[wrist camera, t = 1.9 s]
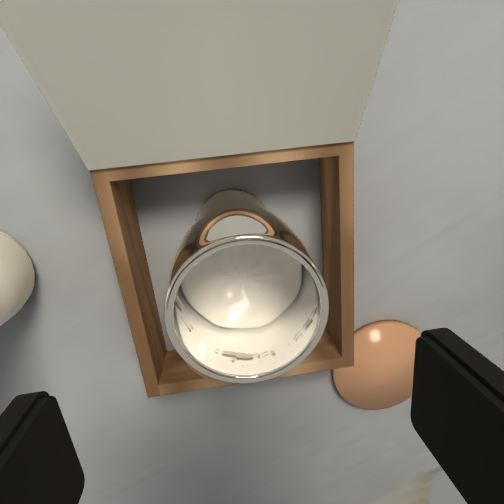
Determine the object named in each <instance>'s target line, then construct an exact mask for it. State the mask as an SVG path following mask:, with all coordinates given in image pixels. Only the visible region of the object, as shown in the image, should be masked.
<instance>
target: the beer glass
mask: <svg viewBox="0 0 504 504" xmlns="http://www.w3.org/2000/svg"><path fill="white" fill-rule="evenodd" d="M328 313H329V298H328V292H327V288H326V285H325V282H324V280H323V277H322V275H321V273H320V272H319V270H318V269H317V267H316V266H315V264H314V263H313V261H312V259H311V257H310V255H309V253H308V252H307V250H306V248H305V247H304V245H303V244H302V242H301V241H300V239H299V238H298V237H297V235H296V234H295V233H294V231H293V230H292V229H291V228H290V227H289V226H288V225H287V224H285V223H284V222H283V221H282V220H281V219H280V218H279V217H277V216H276V215H274V214H273V213H271V212H269V211H267V210H266V209H265V207H264V206H263V204H262V203H261V202H260V201H259V200H258V199H257V198H256V197H254V196H253V195H251V194H249V193H247V192H244V191H241V190H225V191H221V192H219V193H216V194H214V195H213V196H211V197H210V198H209V199H208V200H207V201H206V202H205V203H204V204H203V205H202V207H201V208H200V210H199V212H198V215H197V219H196V223H195V224H194V225H193V226H192V227H191V228H190V229H189V230H188V232H187V233H186V235H185V237H184V238H183V240H182V242H181V244H180V246H179V248H178V250H177V253H176V256H175V259H174V262H173V266H172V270H171V275H170V280H169V287H168V292H167V295H166V299H165V307H164V319H165V325H166V330H167V333H168V336H169V338H170V341H171V343H172V345H173V346H174V348H175V350H176V351H177V352H178V354H179V355H180V356H181V357H182V358H183V359H184V360H185V361H186V362H187V363H188V364H189V365H190V366H191V367H193V368H194V369H196V370H197V371H199V372H201V373H202V374H204V375H206V376H209V377H211V378H214V379H217V380H221V381H225V382H231V383H255V382H261V381H265V380H269V379H272V378H275V377H277V376H280V375H282V374H284V373H286V372H288V371H290V370H291V369H293V368H294V367H296V366H297V365H298V364H300V363H301V362H302V361H303V360H304V359H305V358H306V357H307V356H308V355H309V354H310V353H311V352H312V351H313V349H314V348H315V347H316V345H317V344H318V342H319V340H320V339H321V337H322V335H323V332H324V330H325V327H326V324H327V320H328Z"/></svg>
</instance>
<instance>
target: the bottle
mask: <svg viewBox="0 0 504 504" xmlns="http://www.w3.org/2000/svg"><path fill="white" fill-rule="evenodd" d="M34 281H35V272H34V268H33V265H32V261H31V259H30V257H29V256H28V254H27V252H26V251H25V249H24V248H23V247H22V246H21V245H20V244H19V243H18V242H17V241H16V240H15V239H13V238H12V237H10V236H9V235H7V234H6V233H4V232H1V231H0V326H1V325H2V324H4V323H5V322H7V321H8V320H9V319H10V318H11V317H13V316H14V315H15V314H16V313H17V312H19V310H20V309H21V308H22V307H23V305H24V304H25V303H26V301H27V300H28V298H29V297H30V296H31V293H32V290H33V288H34Z"/></svg>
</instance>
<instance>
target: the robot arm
mask: <svg viewBox="0 0 504 504" xmlns="http://www.w3.org/2000/svg"><path fill="white" fill-rule="evenodd" d="M411 421H412V424H413V426H414V429H415V430H416V432H417V433H418V435H419V436H420V437H421V439H422V440H423V442H424V443H425V445H426V446H427V447H428V449H429V450H430V452H431V453H432V454H433V456H434V457H435V459H436V460H437V461H438V463H439V464H440V466H441V467H442V468H443V470H444V471H445V473H446V474H447V475H448V477H449V478H450V479H451V481H452V482H453V484H454V485H455V487H456V488H457V490H458V491H459V492H460V494H461V495H462V496H463V498H464V499H465V501H466V502H467V503H468V504H504V371H502V370H501V369H500V368H499V367H497V366H496V365H495V364H493V363H492V362H491V361H490V360H488V359H487V358H486V357H484V356H483V355H482V354H481V353H479V352H478V351H477V350H475V349H474V348H473V347H472V346H470V345H469V344H468V343H466V342H465V341H464V340H463V339H461V338H460V337H459V336H457V335H456V334H455V333H454V332H452V331H451V330H449V329H448V328H438V329H432V330H426V331H423V332H422V333H421V336H420V337H419V338H417V339H416V344H415V359H414V373H413V388H412V402H411ZM83 488H84V473H83V470H82V467H81V465H80V462H79V459H78V457H77V454H76V451H75V448H74V446H73V443H72V440H71V438H70V435H69V432H68V429H67V427H66V424H65V421H64V419H63V416H62V413H61V410H60V408H59V405H58V402H57V400H56V398H55V397H54V396H49V394H48V393H47V392H45V391H41V392H35V393H28V394H22V395H18V396H16V397H15V398H14V399H13V400H12V402H11V403H10V404H9V405H8V407H7V408H6V409H5V410H4V412H3V413H2V414H1V416H0V504H78V503H79V500H80V497H81V495H82V492H83Z"/></svg>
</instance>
